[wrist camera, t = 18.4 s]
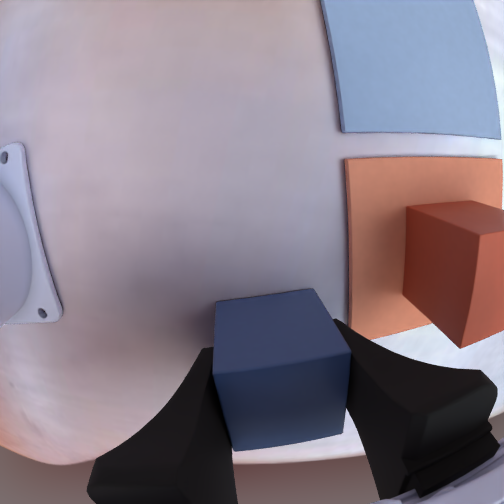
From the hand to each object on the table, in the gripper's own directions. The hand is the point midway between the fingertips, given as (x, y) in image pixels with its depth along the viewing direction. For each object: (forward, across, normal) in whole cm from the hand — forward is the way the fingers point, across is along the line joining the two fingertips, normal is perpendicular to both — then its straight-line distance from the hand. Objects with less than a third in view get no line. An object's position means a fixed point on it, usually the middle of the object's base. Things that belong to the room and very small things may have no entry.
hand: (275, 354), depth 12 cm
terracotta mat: (+1, -8, -2) cm, 9 cm away
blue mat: (+1, -9, -11) cm, 14 cm away
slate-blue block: (+1, 0, 0) cm, 1 cm away
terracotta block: (+1, -8, -2) cm, 9 cm away
